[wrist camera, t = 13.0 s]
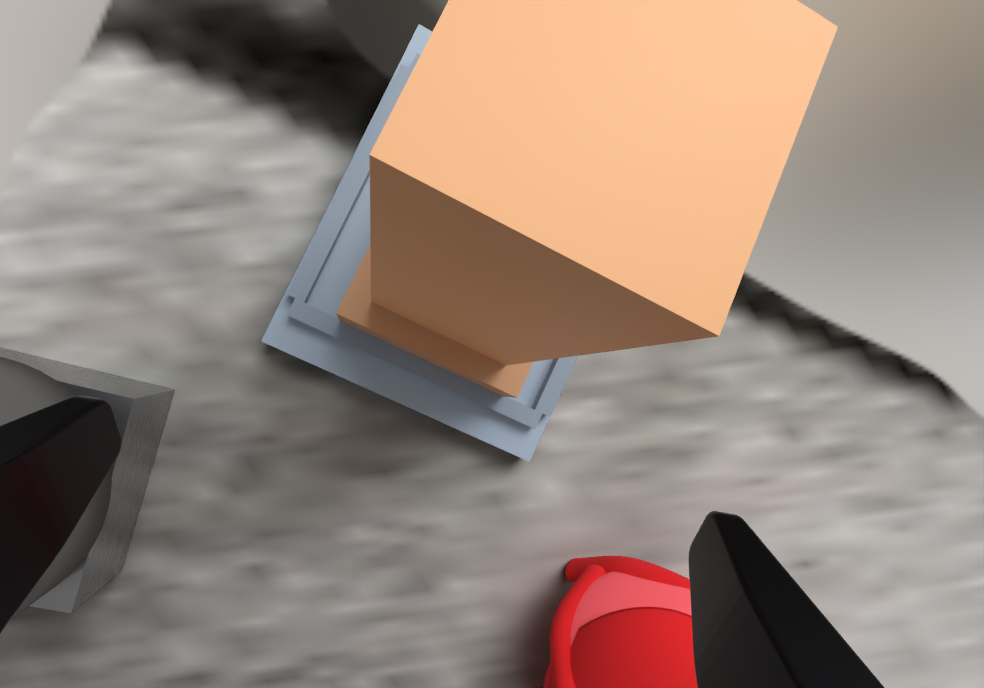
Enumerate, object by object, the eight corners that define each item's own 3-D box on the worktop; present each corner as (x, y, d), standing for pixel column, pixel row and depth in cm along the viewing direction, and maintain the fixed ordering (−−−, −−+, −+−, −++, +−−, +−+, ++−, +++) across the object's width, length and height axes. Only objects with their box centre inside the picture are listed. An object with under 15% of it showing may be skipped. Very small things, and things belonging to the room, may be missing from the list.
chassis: (522, 456, 21) (532, 464, 20) (267, 341, 20) (257, 341, 18) (652, 172, 22) (671, 159, 20) (417, 39, 20) (419, 15, 19)
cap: (610, 504, 18) (532, 692, 15) (788, 603, 17) (750, 833, 14) (551, 575, 25) (486, 719, 21) (679, 651, 24) (633, 818, 20)
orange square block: (503, 396, 19) (749, 419, 7) (339, 320, 18) (268, 181, 6) (569, 243, 20) (899, 10, 8) (418, 163, 19) (505, -254, 7)
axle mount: (121, 570, 19) (70, 613, 16) (-89, 531, 18) (-184, 569, 15) (174, 389, 19) (134, 398, 16) (-30, 340, 18) (-113, 340, 15)
